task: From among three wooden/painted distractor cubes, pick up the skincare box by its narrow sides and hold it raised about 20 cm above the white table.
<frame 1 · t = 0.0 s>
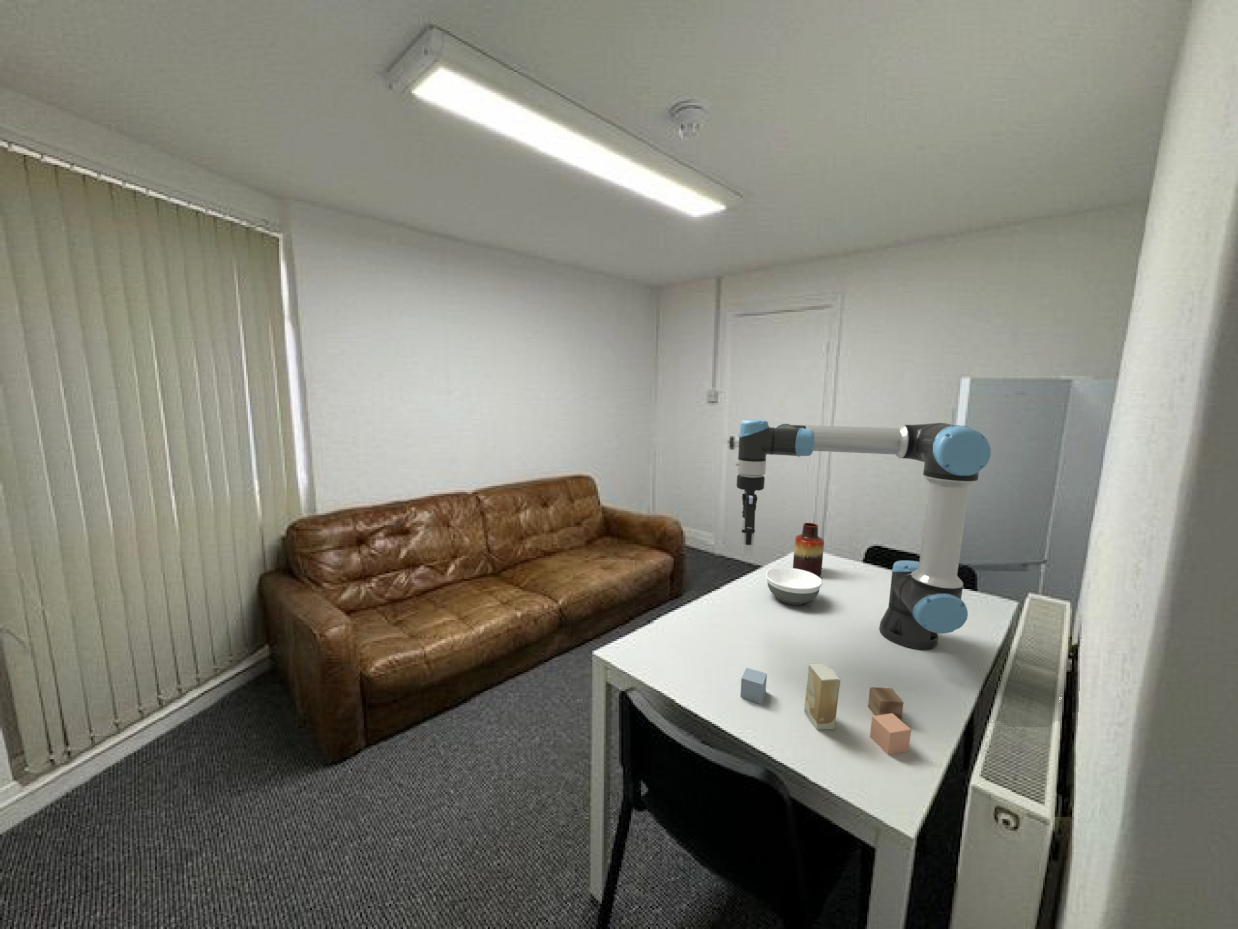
hand: (746, 547, 137), 28 cm above the table, fingers open, 13 cm apart
vase: (806, 573, 192), on the table
walnut cube: (884, 714, 109), on the table
slate cube: (753, 694, 115), on the table
skincare box: (819, 721, 106), on the table
terracotta cube: (888, 744, 100), on the table
bowl: (791, 600, 167), on the table
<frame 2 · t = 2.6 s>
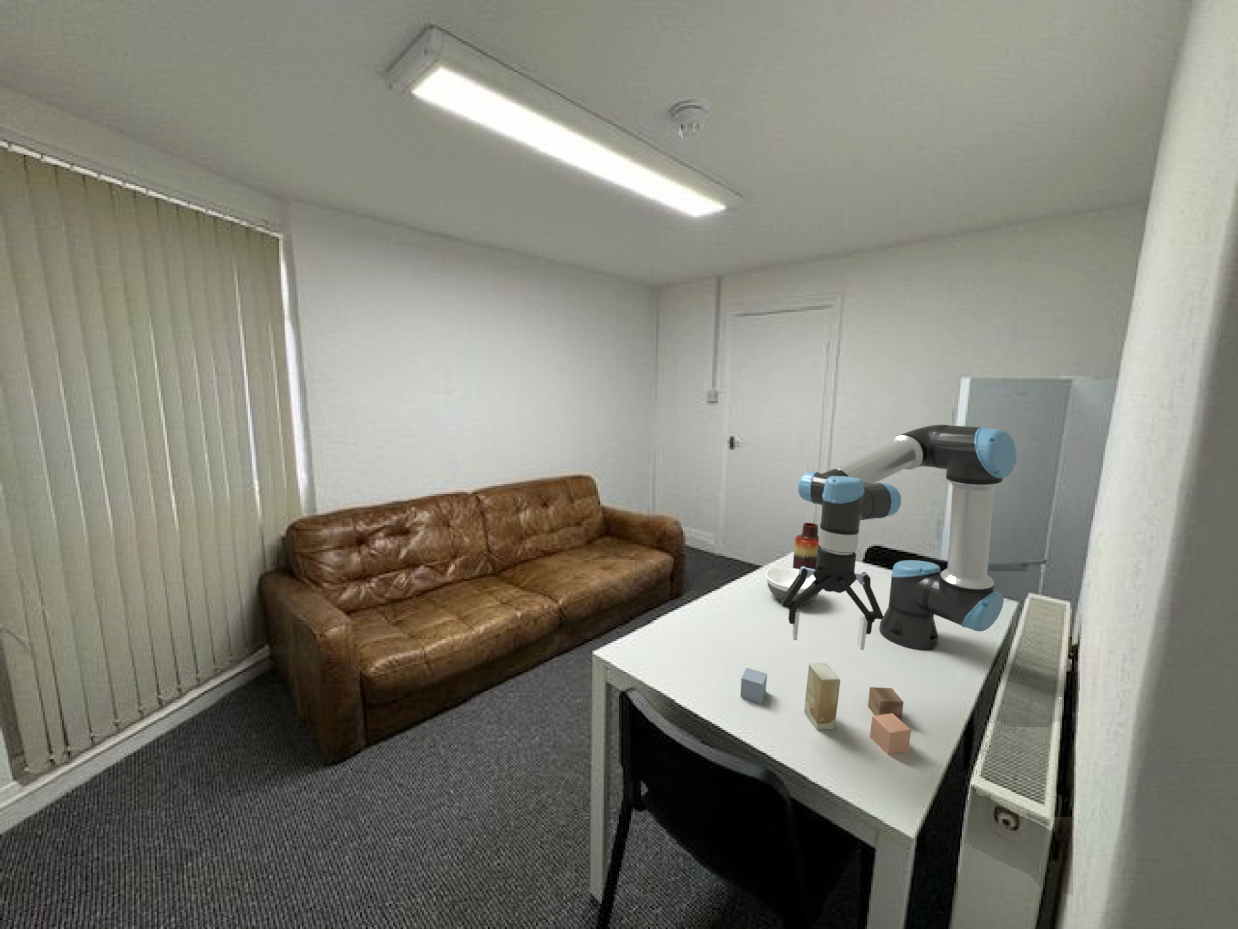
hand: (826, 642, 104), 18 cm above the table, fingers open, 13 cm apart
nothing on the table moved.
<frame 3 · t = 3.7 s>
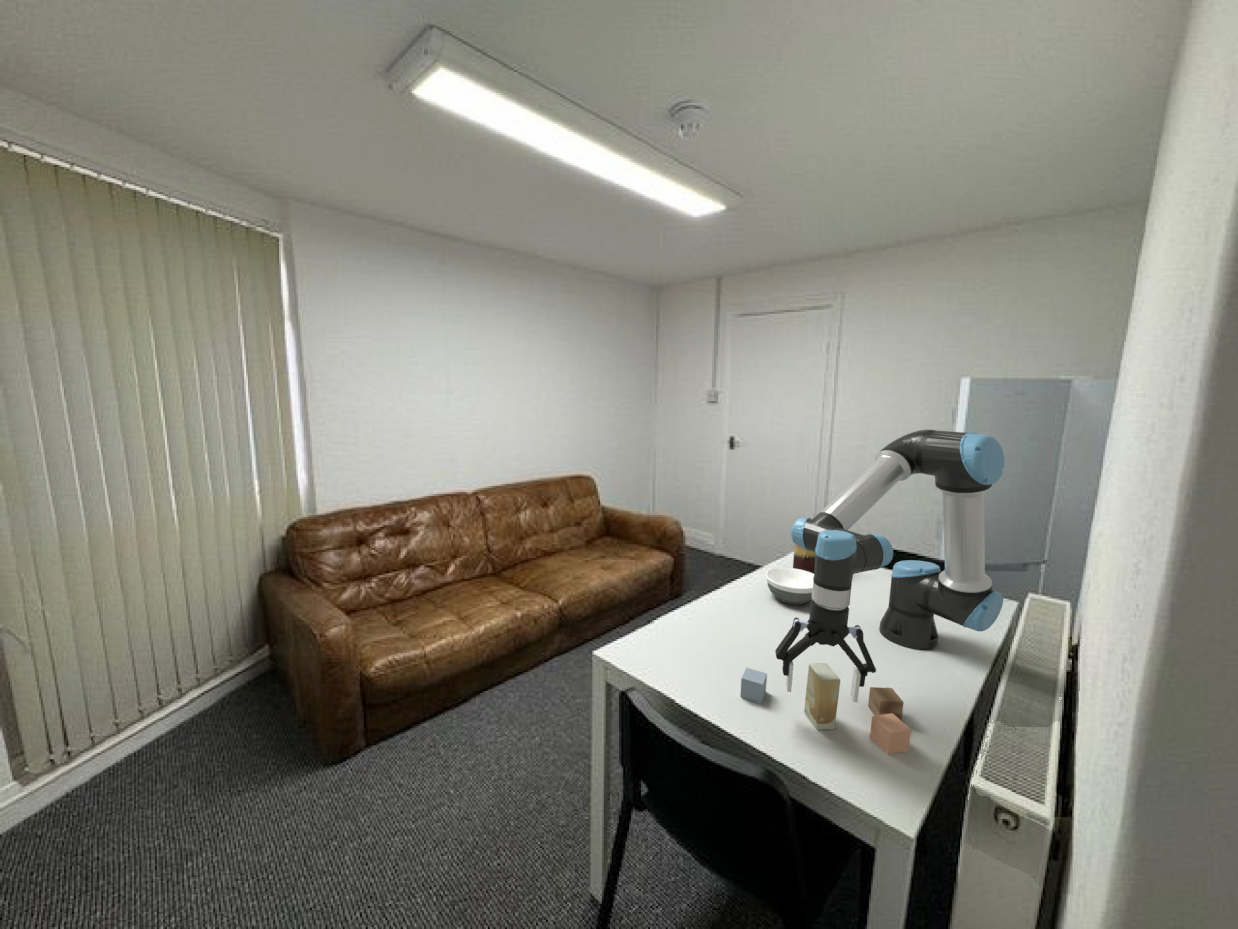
hand: (820, 693, 105), 7 cm above the table, fingers open, 13 cm apart
nothing on the table moved.
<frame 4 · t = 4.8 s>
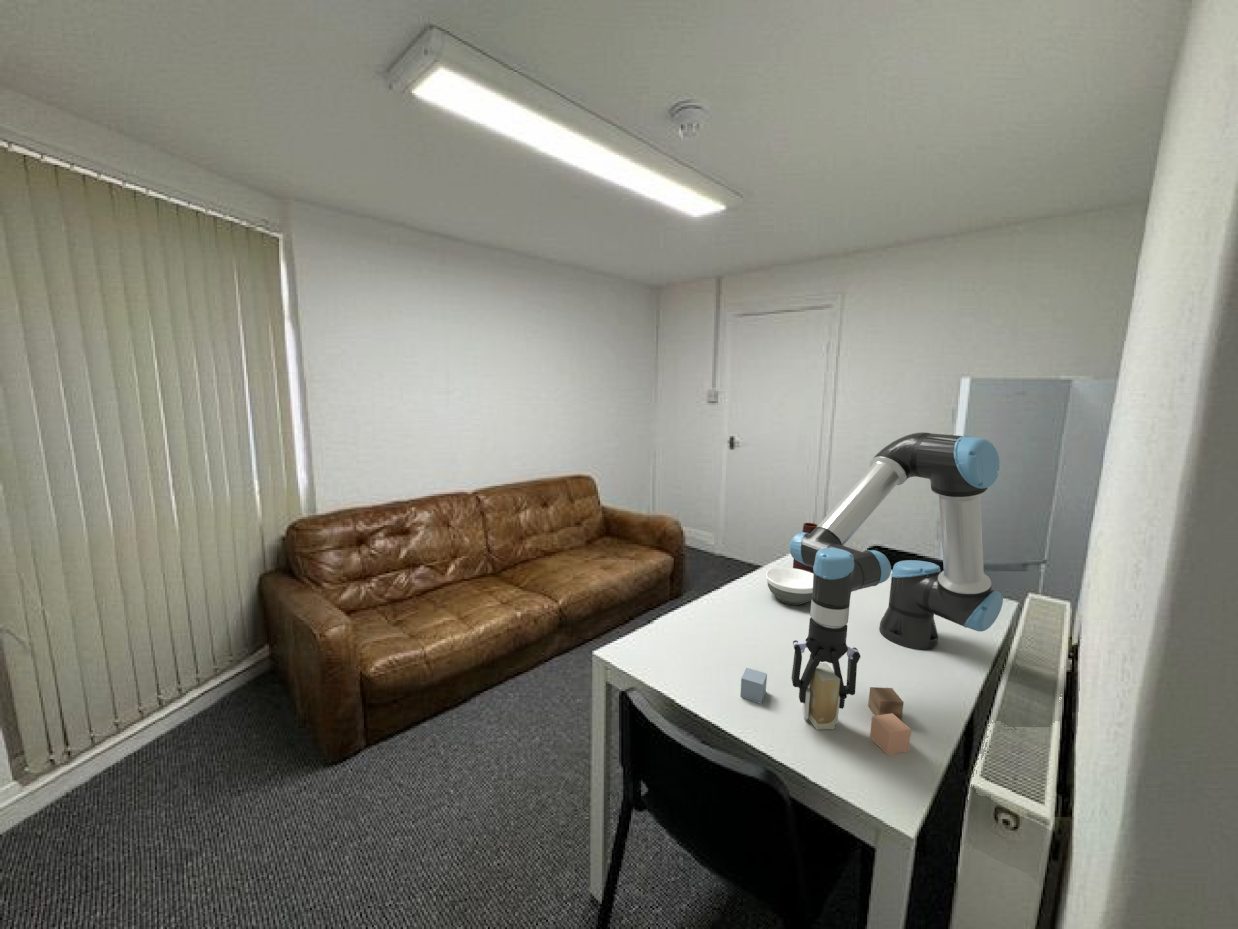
hand: (819, 717, 106), 1 cm above the table, fingers closed on skincare box, 5 cm apart
skincare box: (819, 721, 106), on the table, touching gripper
everything else where it was.
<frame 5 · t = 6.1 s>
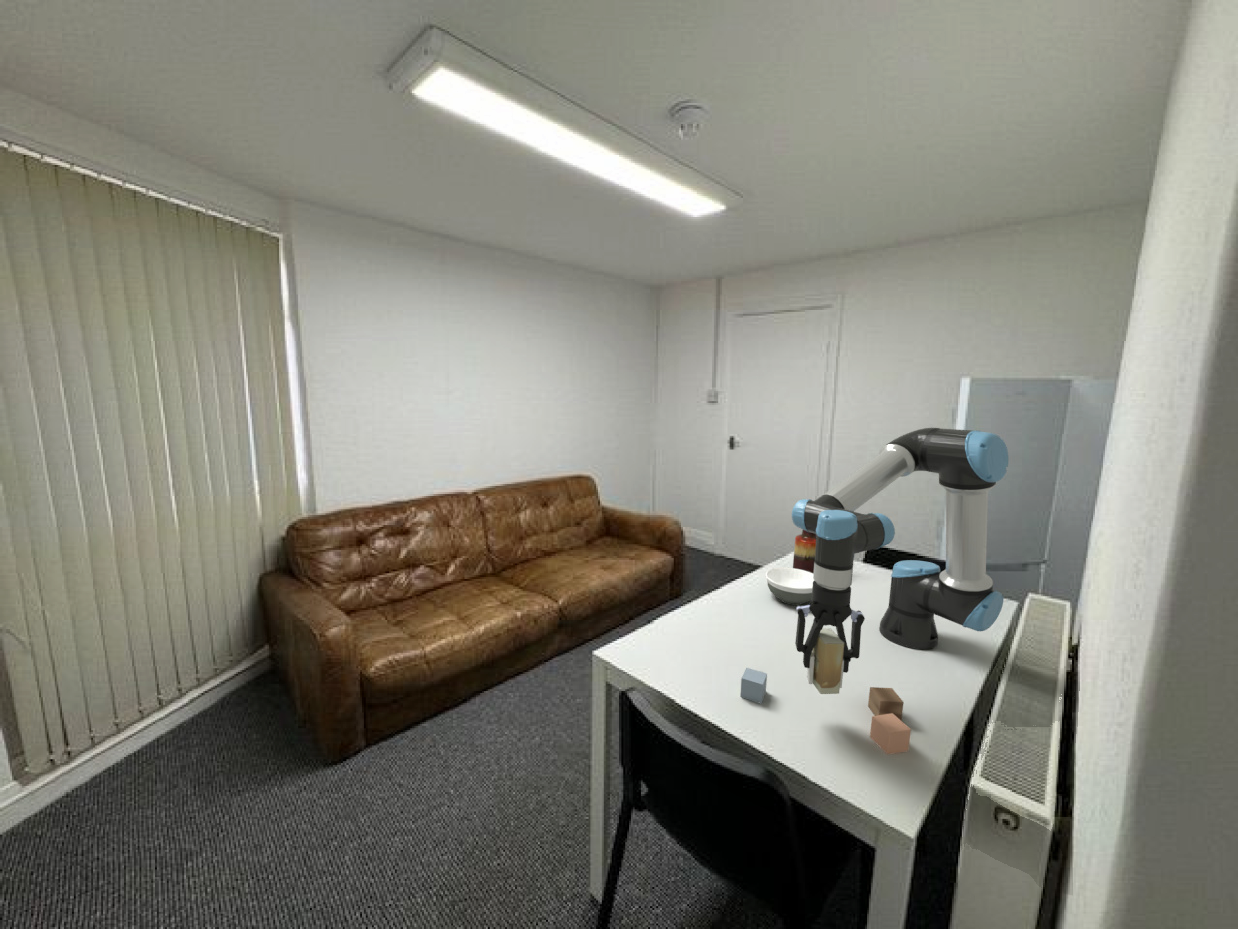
hand: (824, 682, 105), 9 cm above the table, fingers closed on skincare box, 5 cm apart
skincare box: (823, 686, 105), point 8 cm above the table, touching gripper
everything else where it was.
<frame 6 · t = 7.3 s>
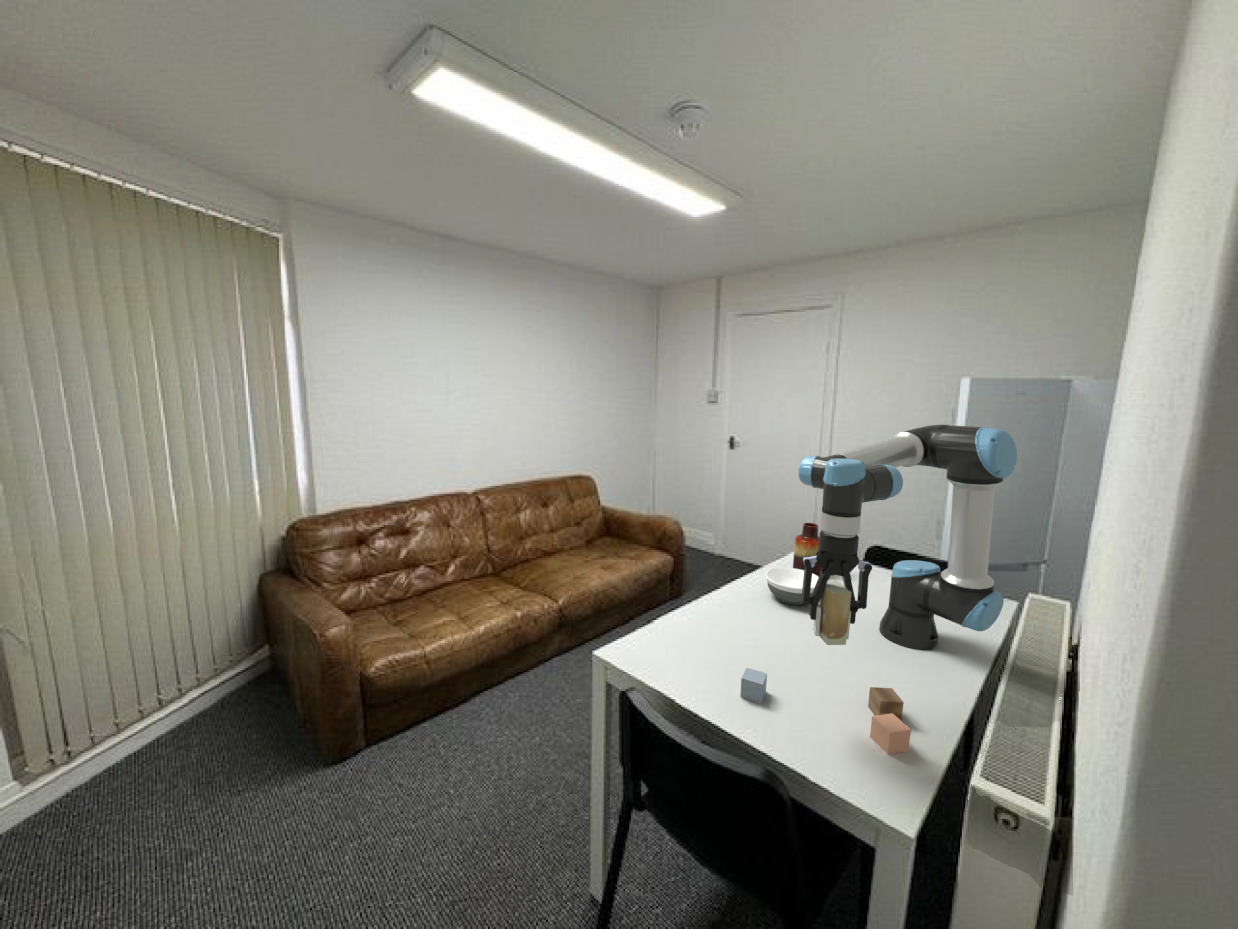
hand: (830, 634, 104), 20 cm above the table, fingers closed on skincare box, 5 cm apart
skincare box: (830, 639, 104), point 19 cm above the table, touching gripper
everything else where it was.
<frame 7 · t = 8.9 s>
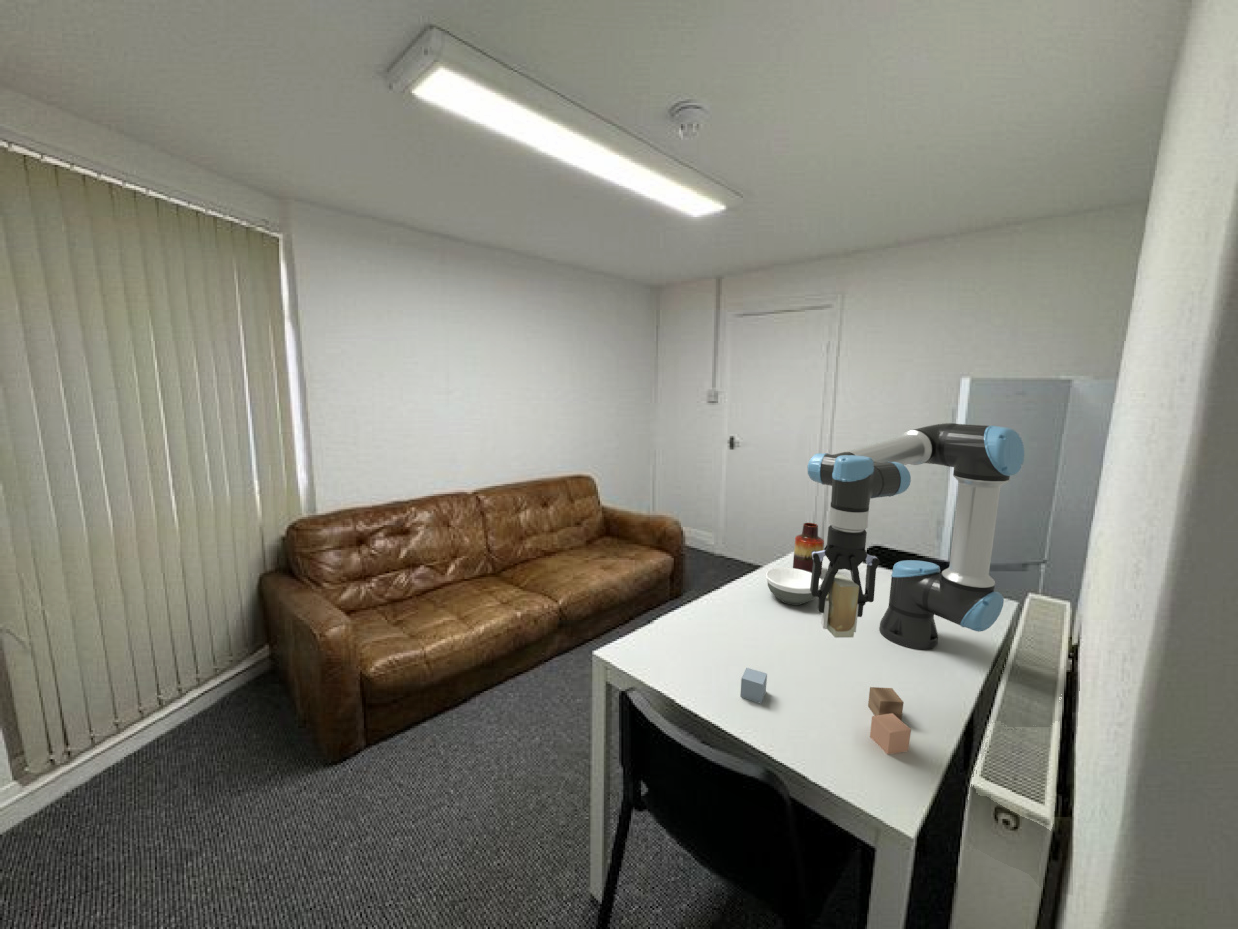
hand: (838, 627, 106), 21 cm above the table, fingers closed on skincare box, 5 cm apart
skincare box: (837, 632, 106), point 20 cm above the table, touching gripper
everything else where it was.
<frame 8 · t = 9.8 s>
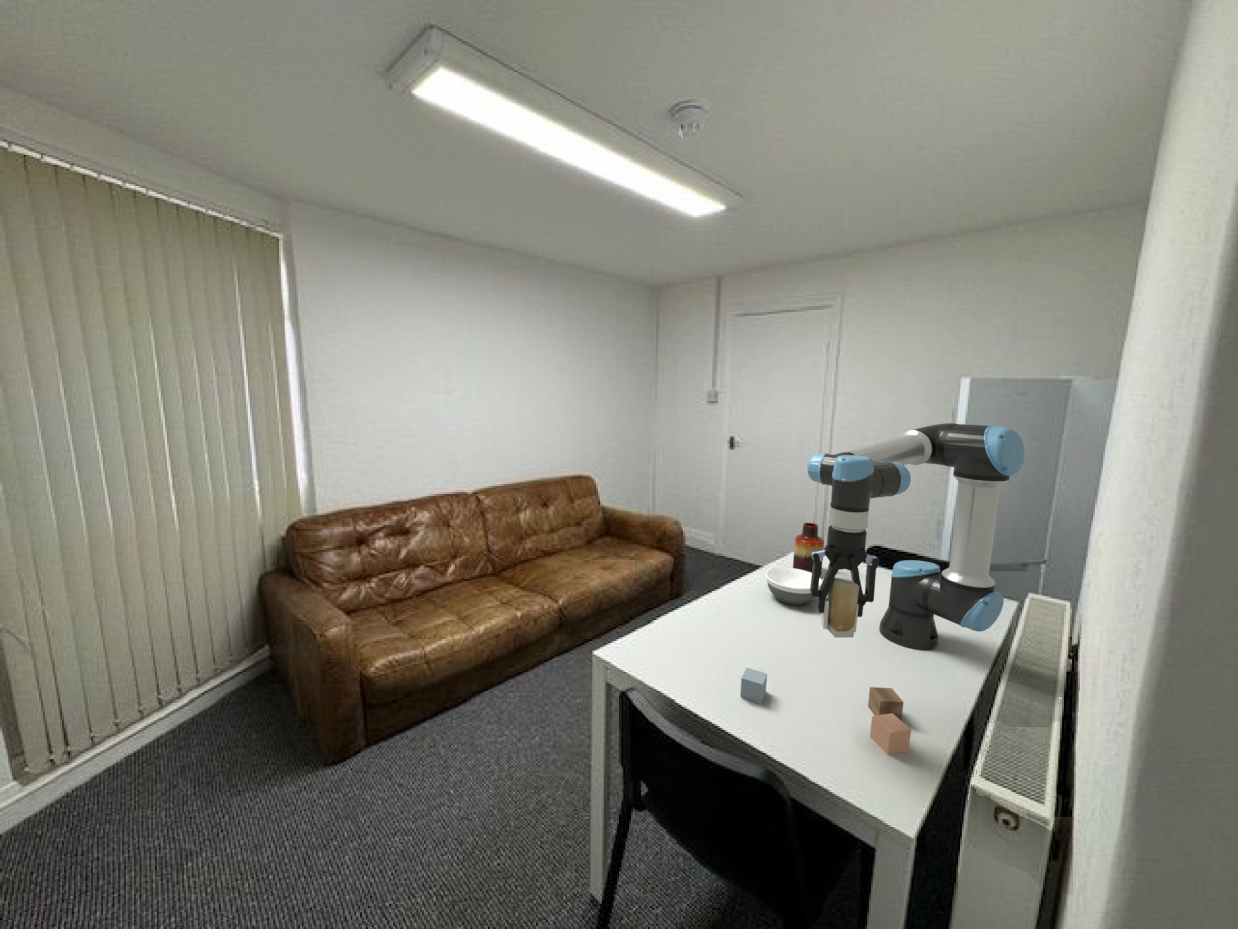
hand: (838, 627, 106), 21 cm above the table, fingers closed on skincare box, 5 cm apart
skincare box: (837, 632, 106), point 20 cm above the table, touching gripper
everything else where it was.
at the end: the gripper is holding skincare box; skincare box point 19.6 cm above the table; walnut cube moved 0.1 cm from its start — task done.
